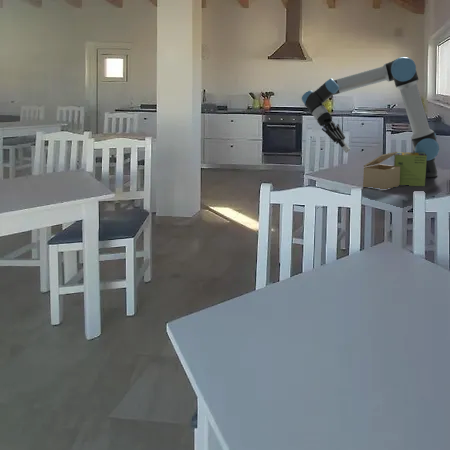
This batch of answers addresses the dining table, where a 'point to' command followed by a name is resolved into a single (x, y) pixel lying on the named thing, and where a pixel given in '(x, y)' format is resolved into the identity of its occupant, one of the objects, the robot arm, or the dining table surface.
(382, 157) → the lid
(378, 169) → the carton
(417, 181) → the protein box
